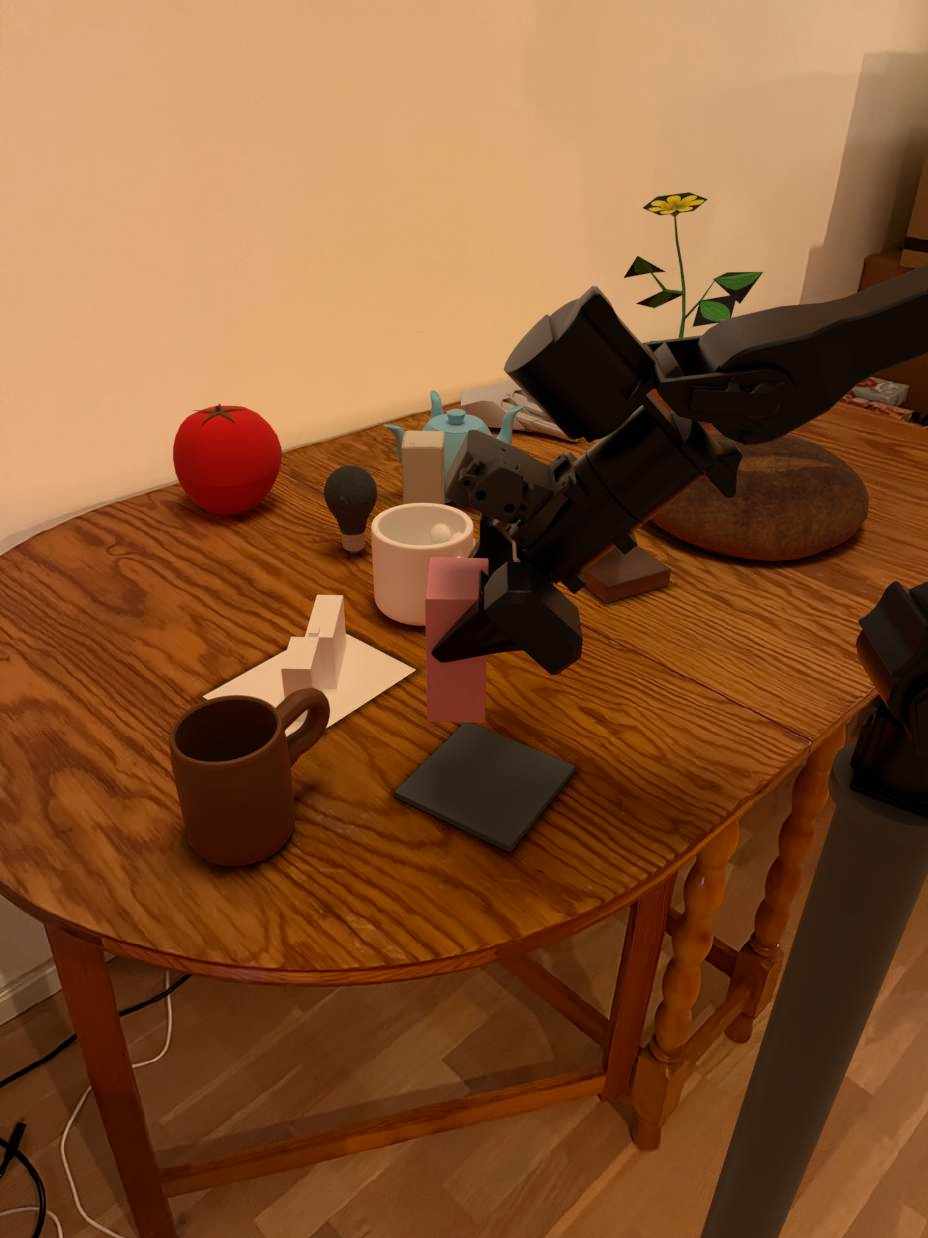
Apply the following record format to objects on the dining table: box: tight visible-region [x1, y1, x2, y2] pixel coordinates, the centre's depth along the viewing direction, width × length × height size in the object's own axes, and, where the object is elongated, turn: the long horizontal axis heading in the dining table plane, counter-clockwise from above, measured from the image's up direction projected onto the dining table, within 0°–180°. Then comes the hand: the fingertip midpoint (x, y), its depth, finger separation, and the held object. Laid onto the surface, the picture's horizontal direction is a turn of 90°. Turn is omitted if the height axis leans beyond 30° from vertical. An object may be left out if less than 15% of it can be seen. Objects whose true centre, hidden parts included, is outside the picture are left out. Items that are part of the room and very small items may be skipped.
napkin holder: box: [202, 594, 416, 737], centre depth 78 cm, size 15×11×6 cm
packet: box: [425, 557, 488, 724], centre depth 63 cm, size 4×6×10 cm
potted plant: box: [623, 191, 764, 412], centre depth 128 cm, size 18×19×30 cm
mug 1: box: [168, 687, 330, 868], centre depth 64 cm, size 12×8×9 cm, turn 135°
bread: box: [649, 428, 870, 562], centre depth 108 cm, size 28×27×9 cm
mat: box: [393, 723, 576, 853], centre depth 69 cm, size 10×10×1 cm
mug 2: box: [370, 503, 476, 627], centre depth 88 cm, size 12×10×9 cm
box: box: [401, 429, 446, 505], centre depth 98 cm, size 5×4×13 cm
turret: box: [459, 380, 580, 443], centre depth 132 cm, size 10×20×5 cm, turn 64°
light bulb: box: [323, 464, 378, 555], centre depth 98 cm, size 6×6×10 cm
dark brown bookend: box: [576, 457, 672, 604], centre depth 93 cm, size 9×8×12 cm
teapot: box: [382, 389, 524, 504], centre depth 112 cm, size 13×13×10 cm
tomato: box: [172, 403, 283, 516], centre depth 106 cm, size 12×12×13 cm
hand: (438, 632), depth 62 cm, fingers closed on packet, 5 cm apart
